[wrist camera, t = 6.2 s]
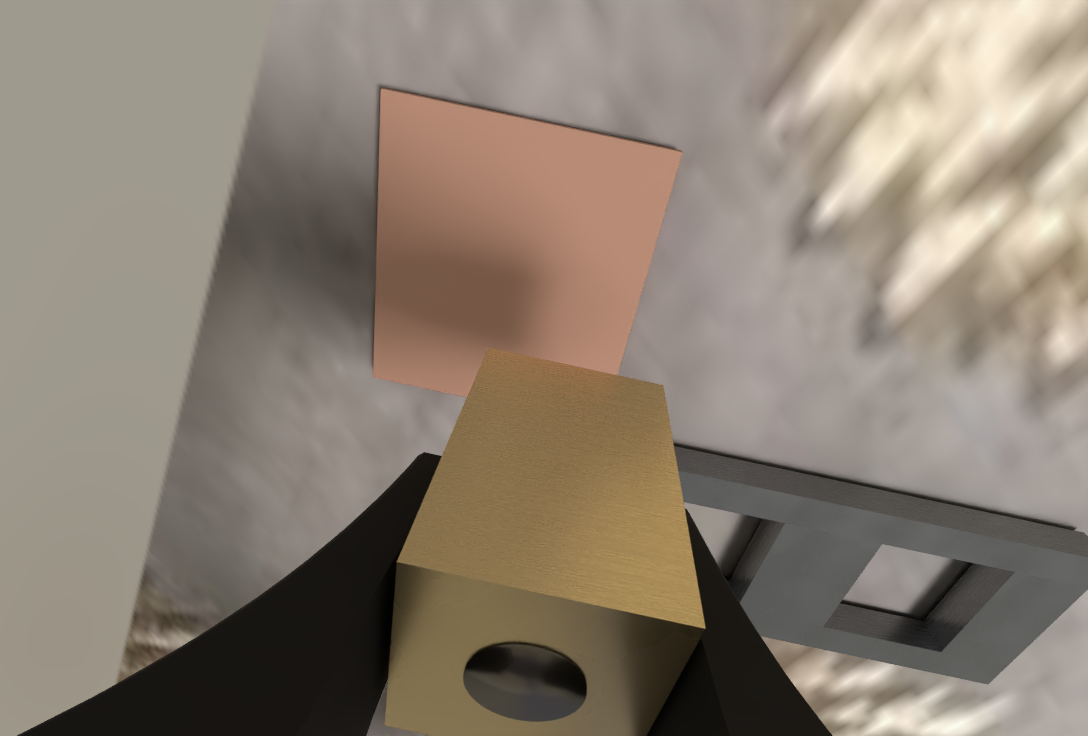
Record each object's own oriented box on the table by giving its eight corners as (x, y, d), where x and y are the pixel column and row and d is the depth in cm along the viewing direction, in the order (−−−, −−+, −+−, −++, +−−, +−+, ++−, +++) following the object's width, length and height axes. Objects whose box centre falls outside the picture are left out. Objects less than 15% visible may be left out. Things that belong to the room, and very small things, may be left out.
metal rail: (968, 652, 25) (987, 684, 24) (549, 563, 25) (546, 590, 24) (1084, 532, 21) (1114, 563, 20) (587, 427, 21) (586, 451, 20)
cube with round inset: (617, 513, 14) (623, 780, 9) (467, 480, 14) (383, 729, 9) (662, 385, 12) (706, 632, 7) (488, 346, 12) (395, 565, 7)
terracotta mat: (602, 420, 21) (602, 425, 21) (376, 372, 21) (373, 377, 21) (681, 150, 16) (682, 152, 16) (385, 88, 16) (380, 88, 16)
